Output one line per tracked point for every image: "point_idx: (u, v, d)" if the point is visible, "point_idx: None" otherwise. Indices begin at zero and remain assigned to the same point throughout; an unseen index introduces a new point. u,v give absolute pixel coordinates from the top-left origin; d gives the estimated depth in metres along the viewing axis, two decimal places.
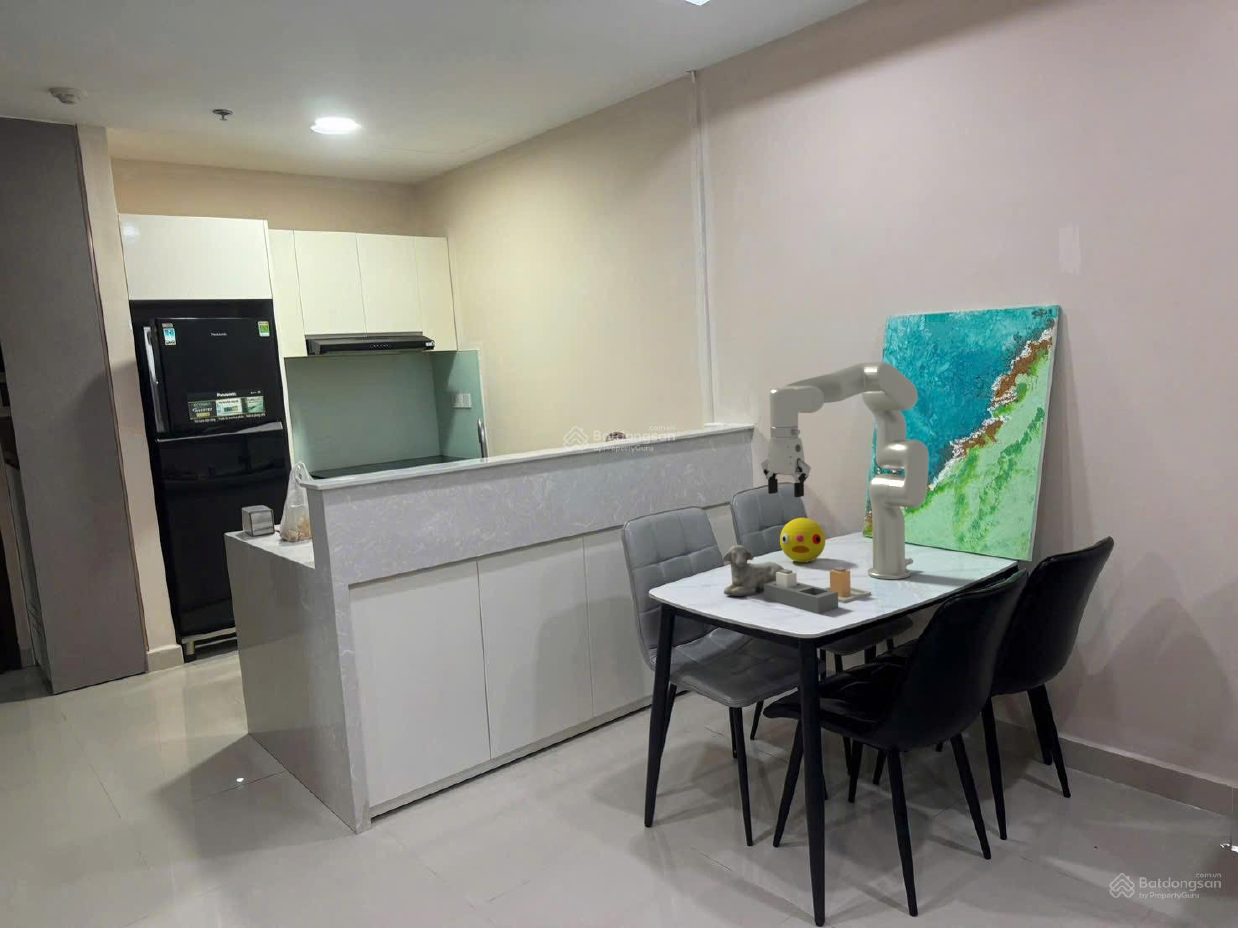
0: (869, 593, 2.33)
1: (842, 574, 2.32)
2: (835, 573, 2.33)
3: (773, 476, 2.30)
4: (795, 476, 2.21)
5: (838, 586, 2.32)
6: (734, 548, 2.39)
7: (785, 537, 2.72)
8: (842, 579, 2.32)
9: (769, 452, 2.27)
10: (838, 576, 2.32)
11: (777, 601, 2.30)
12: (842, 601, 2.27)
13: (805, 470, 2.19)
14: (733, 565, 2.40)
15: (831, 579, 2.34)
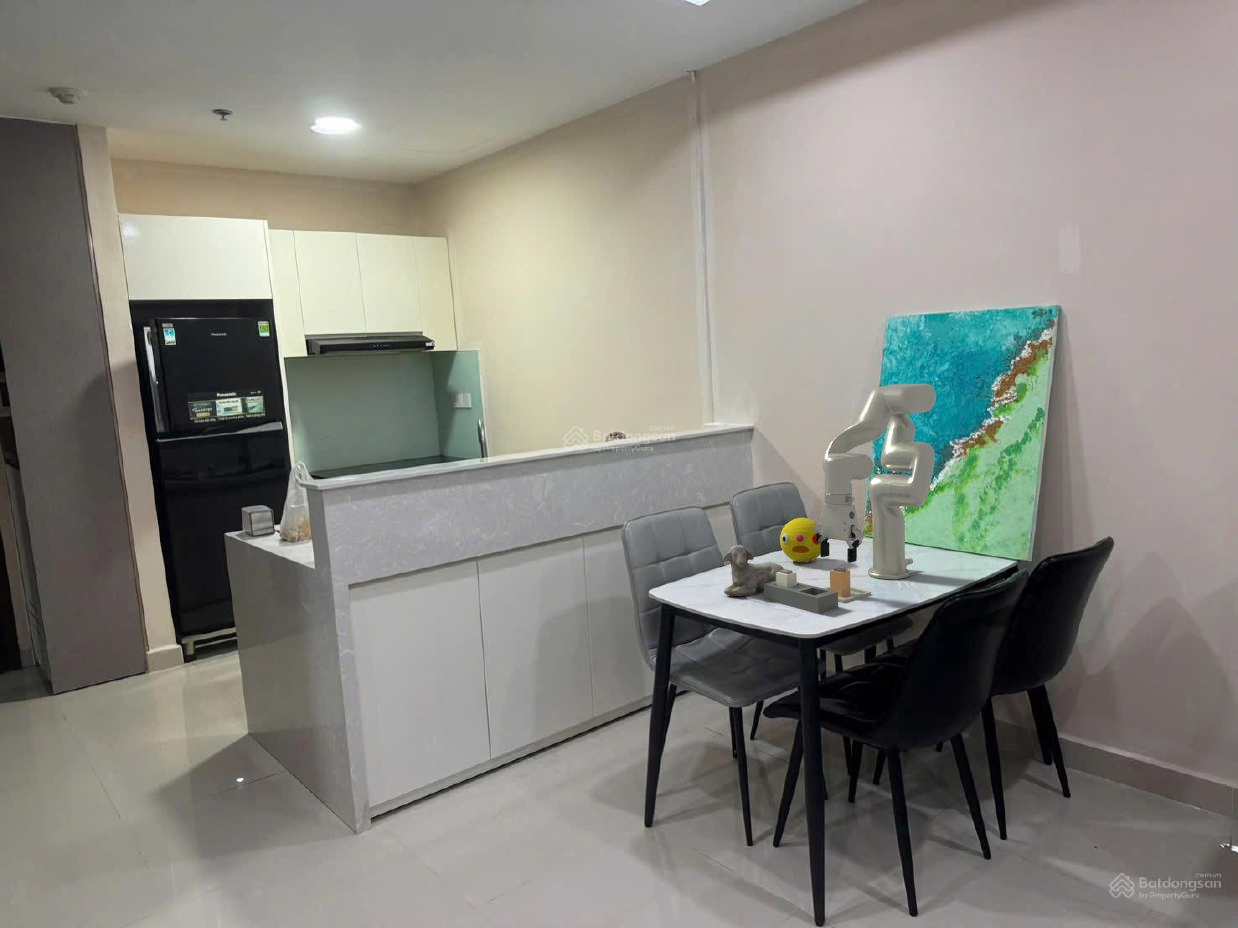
0: (869, 593, 2.33)
1: (842, 574, 2.32)
2: (835, 573, 2.33)
3: (825, 540, 2.37)
4: (849, 542, 2.28)
5: (838, 586, 2.32)
6: (734, 548, 2.39)
7: (785, 537, 2.72)
8: (842, 579, 2.32)
9: (822, 517, 2.34)
10: (838, 576, 2.32)
11: (777, 601, 2.30)
12: (842, 601, 2.27)
13: (859, 537, 2.26)
14: (733, 565, 2.40)
15: (831, 579, 2.34)
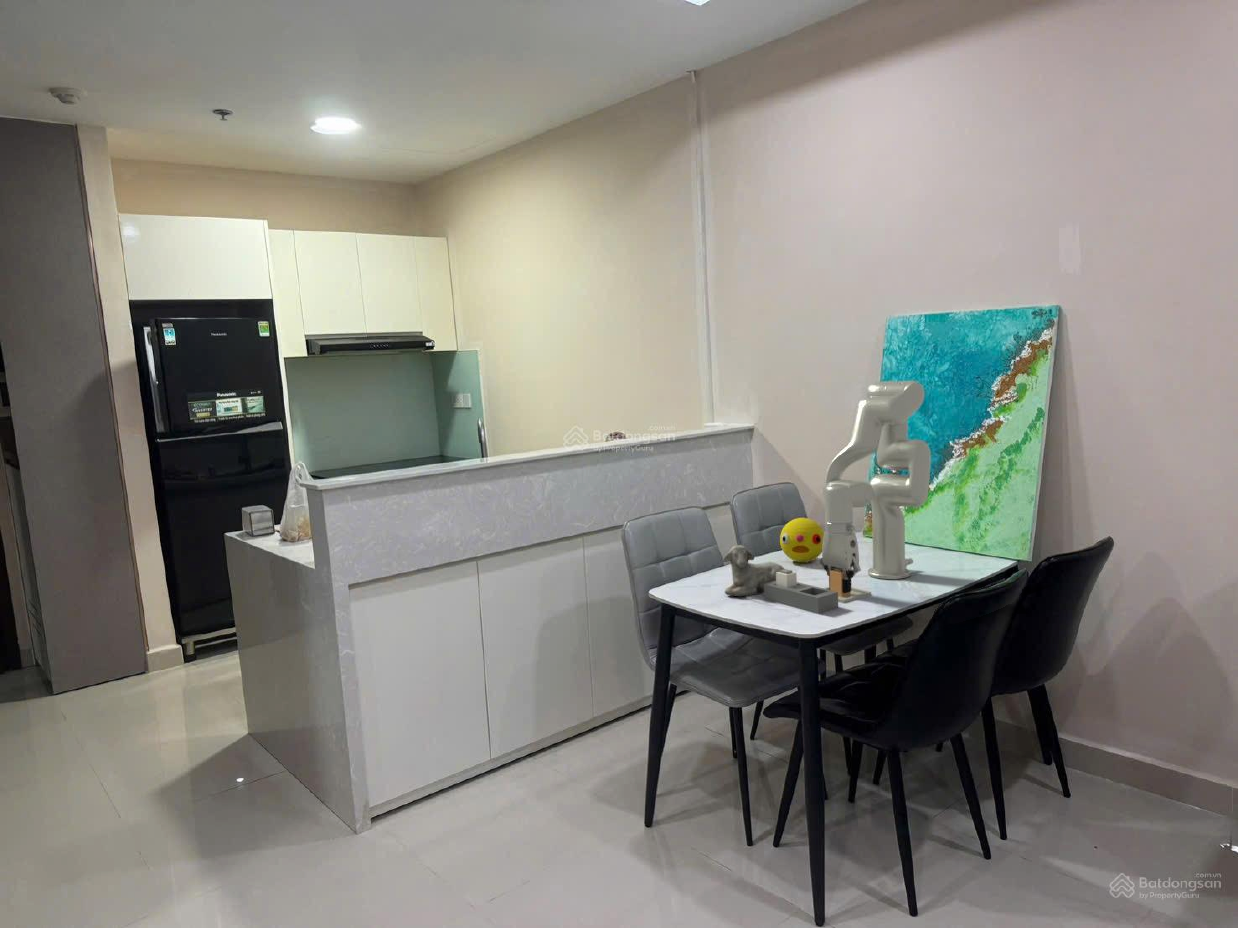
0: (869, 593, 2.33)
1: (842, 574, 2.32)
2: (835, 573, 2.33)
3: None
4: (845, 573, 2.31)
5: (838, 586, 2.32)
6: (735, 548, 2.39)
7: (785, 537, 2.72)
8: None
9: (824, 545, 2.35)
10: (838, 576, 2.32)
11: (777, 601, 2.30)
12: (842, 601, 2.27)
13: (855, 571, 2.29)
14: (734, 565, 2.40)
15: (831, 579, 2.34)
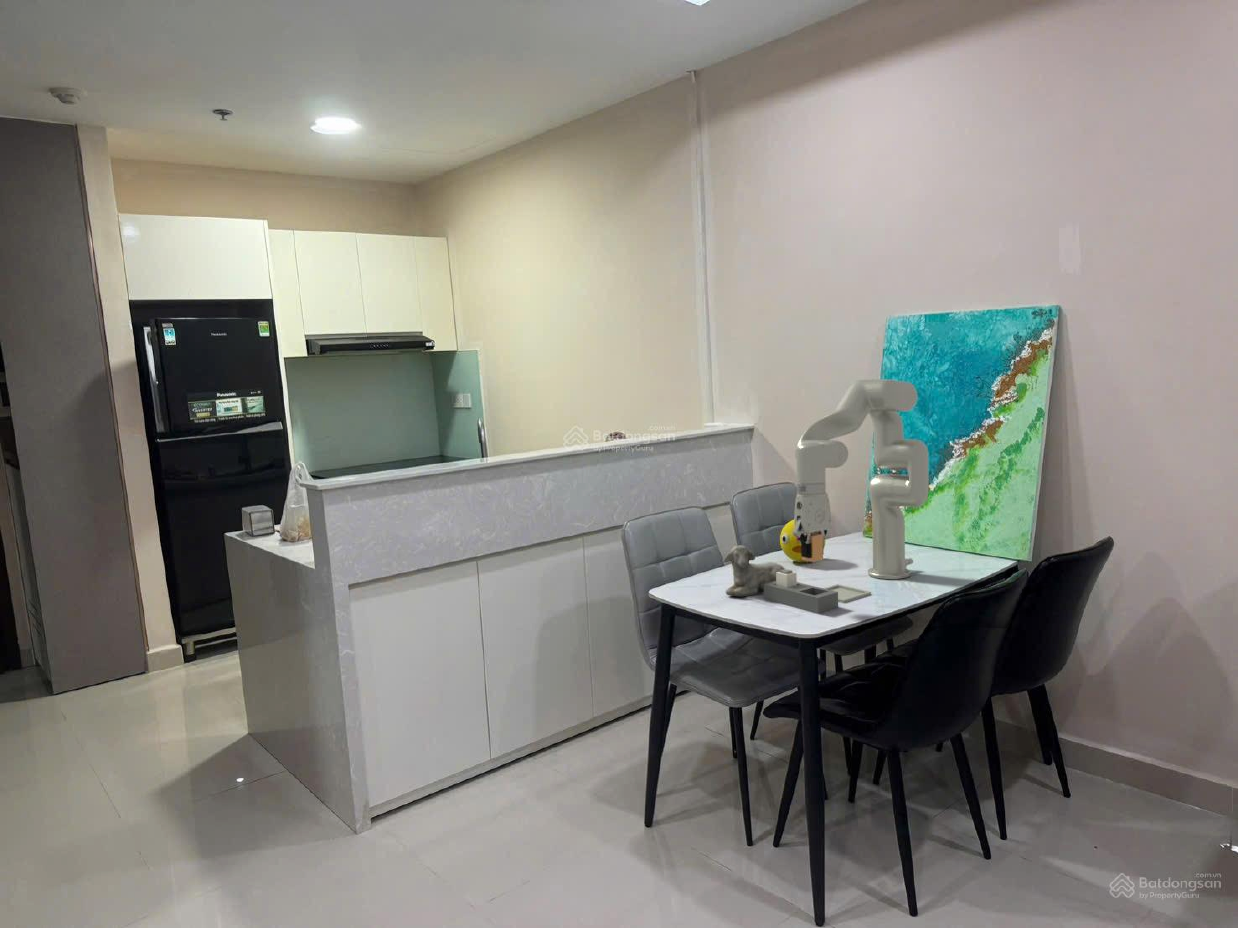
0: (869, 593, 2.33)
1: None
2: None
3: None
4: None
5: None
6: (736, 548, 2.38)
7: (785, 537, 2.72)
8: None
9: None
10: None
11: (777, 601, 2.30)
12: (842, 601, 2.27)
13: None
14: (735, 565, 2.39)
15: None
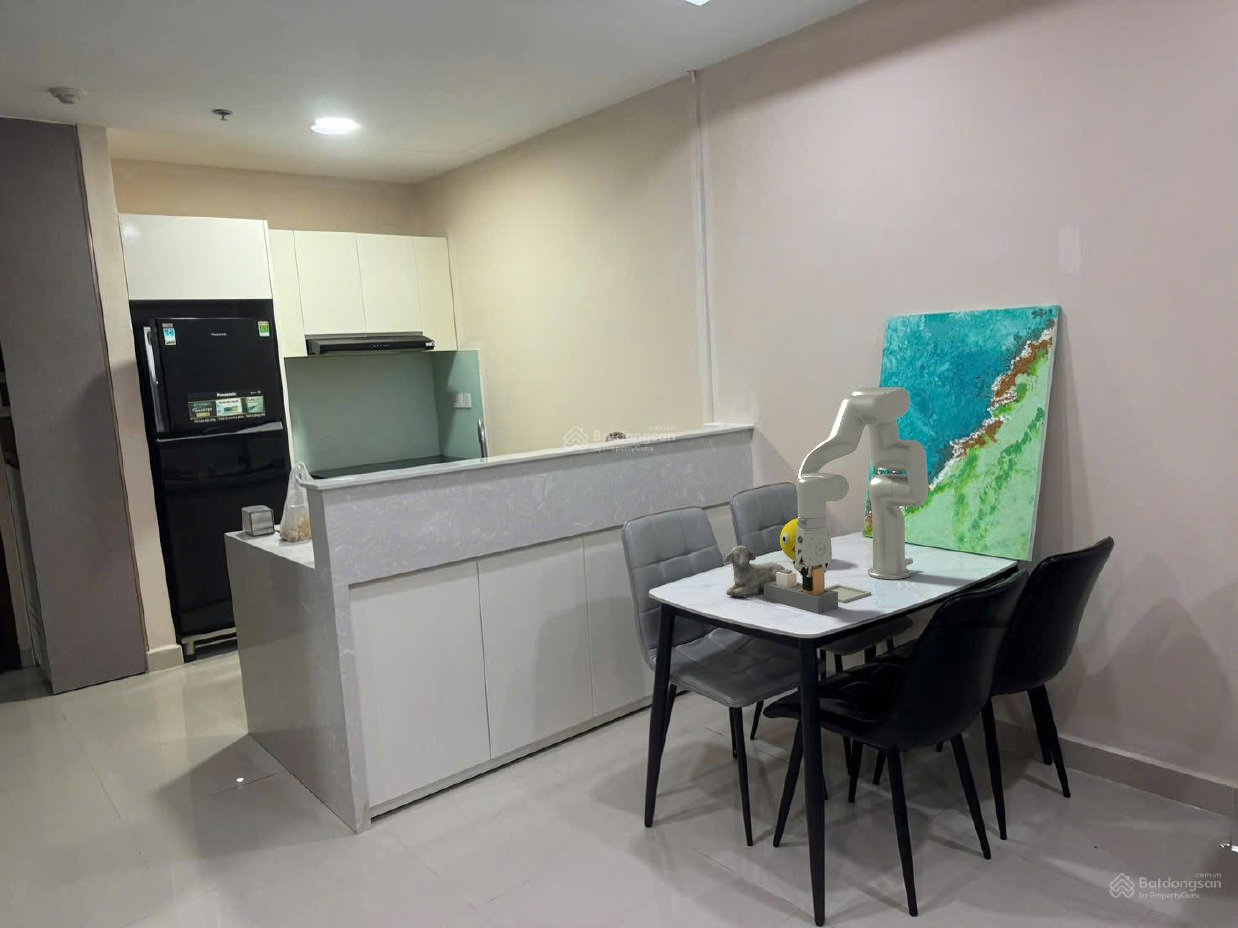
0: (869, 593, 2.33)
1: None
2: None
3: None
4: None
5: None
6: (737, 549, 2.38)
7: (785, 537, 2.72)
8: None
9: None
10: None
11: (777, 601, 2.30)
12: (842, 601, 2.27)
13: None
14: (736, 566, 2.39)
15: None
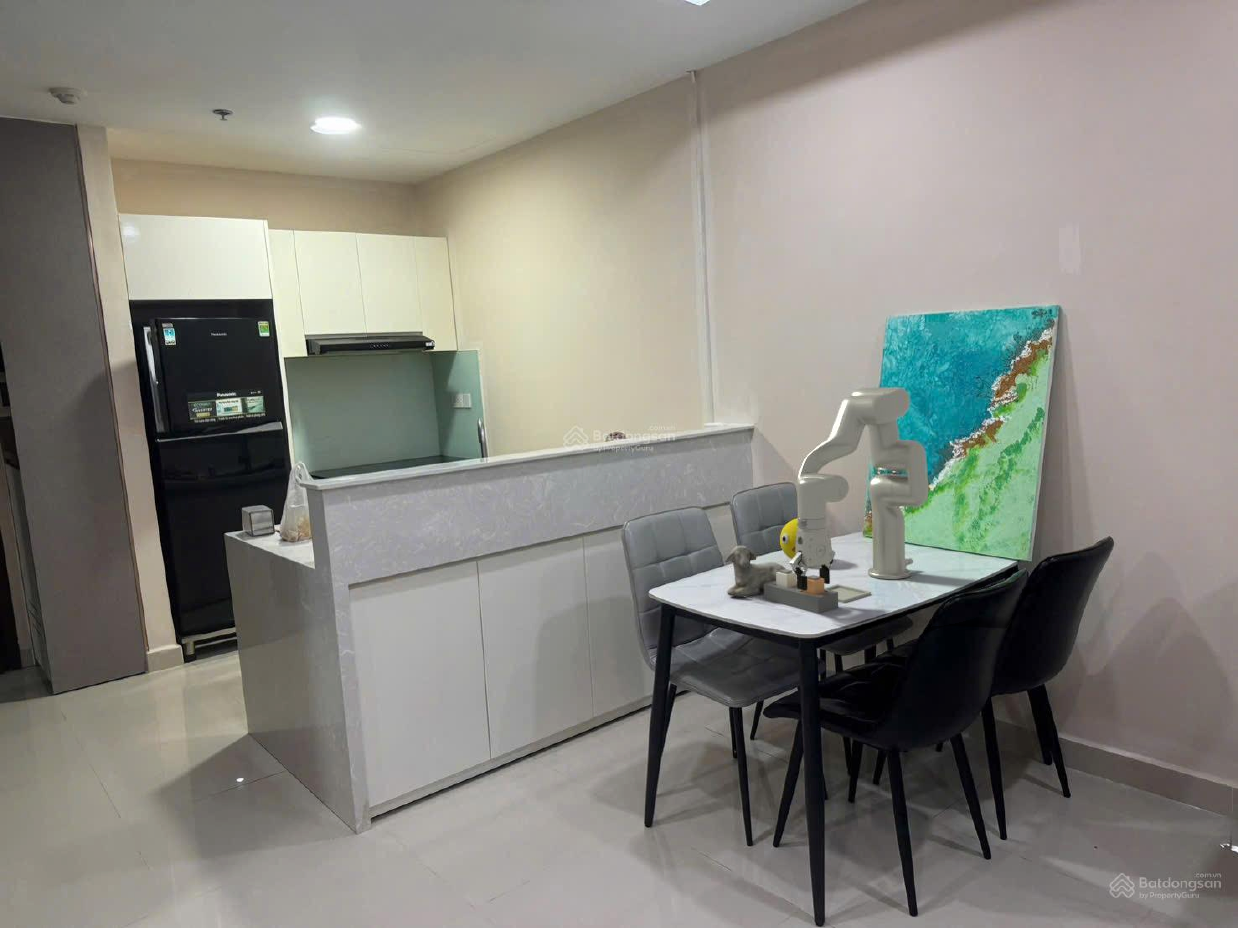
0: (869, 593, 2.33)
1: None
2: None
3: (825, 566, 2.25)
4: None
5: None
6: (738, 549, 2.38)
7: (785, 537, 2.72)
8: None
9: None
10: None
11: (777, 601, 2.30)
12: (842, 601, 2.27)
13: None
14: (736, 566, 2.39)
15: None
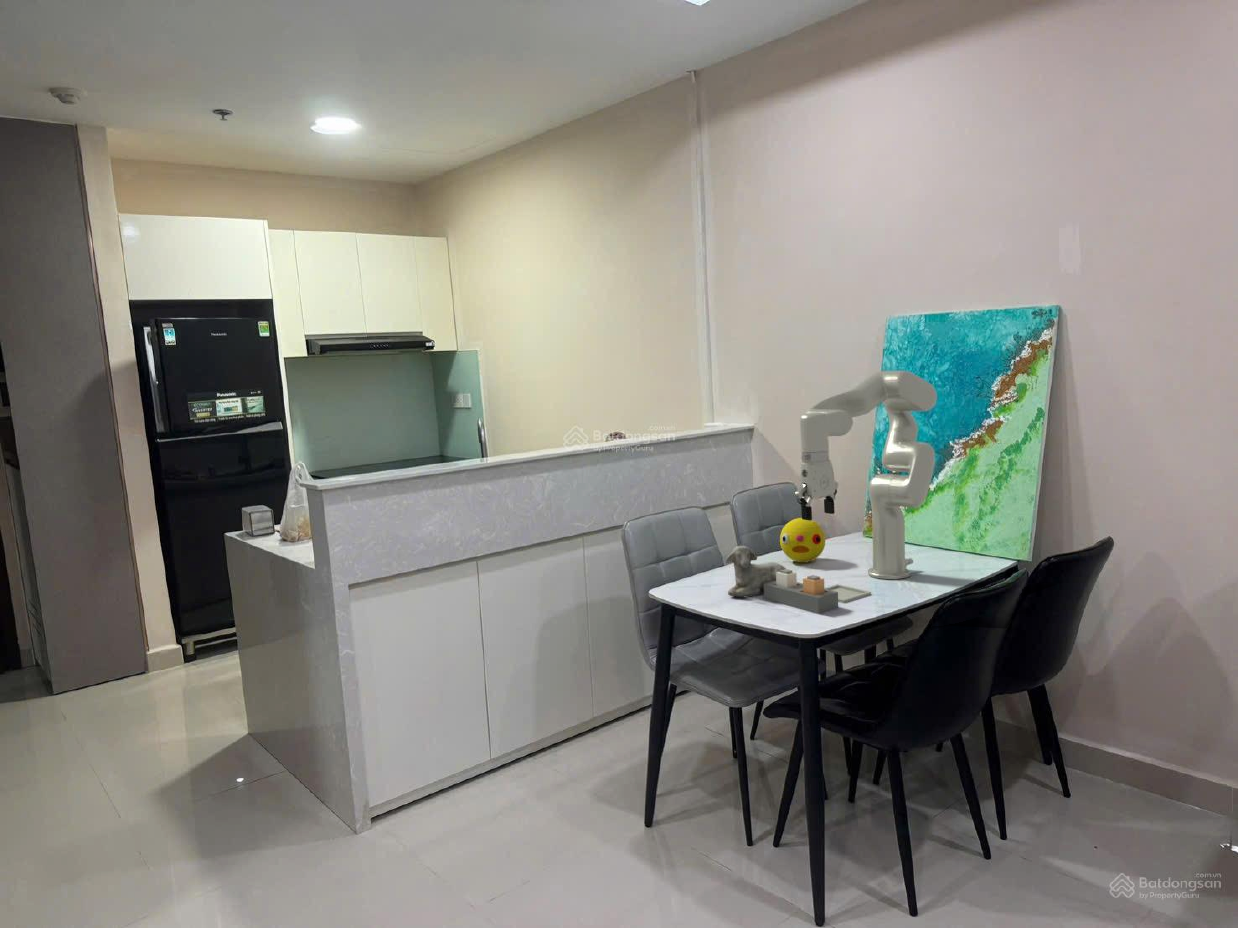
0: (869, 593, 2.33)
1: (804, 581, 2.23)
2: None
3: (829, 497, 2.34)
4: None
5: None
6: (738, 549, 2.38)
7: (785, 537, 2.72)
8: (804, 586, 2.24)
9: None
10: None
11: (777, 601, 2.30)
12: (842, 601, 2.27)
13: None
14: (737, 566, 2.39)
15: None
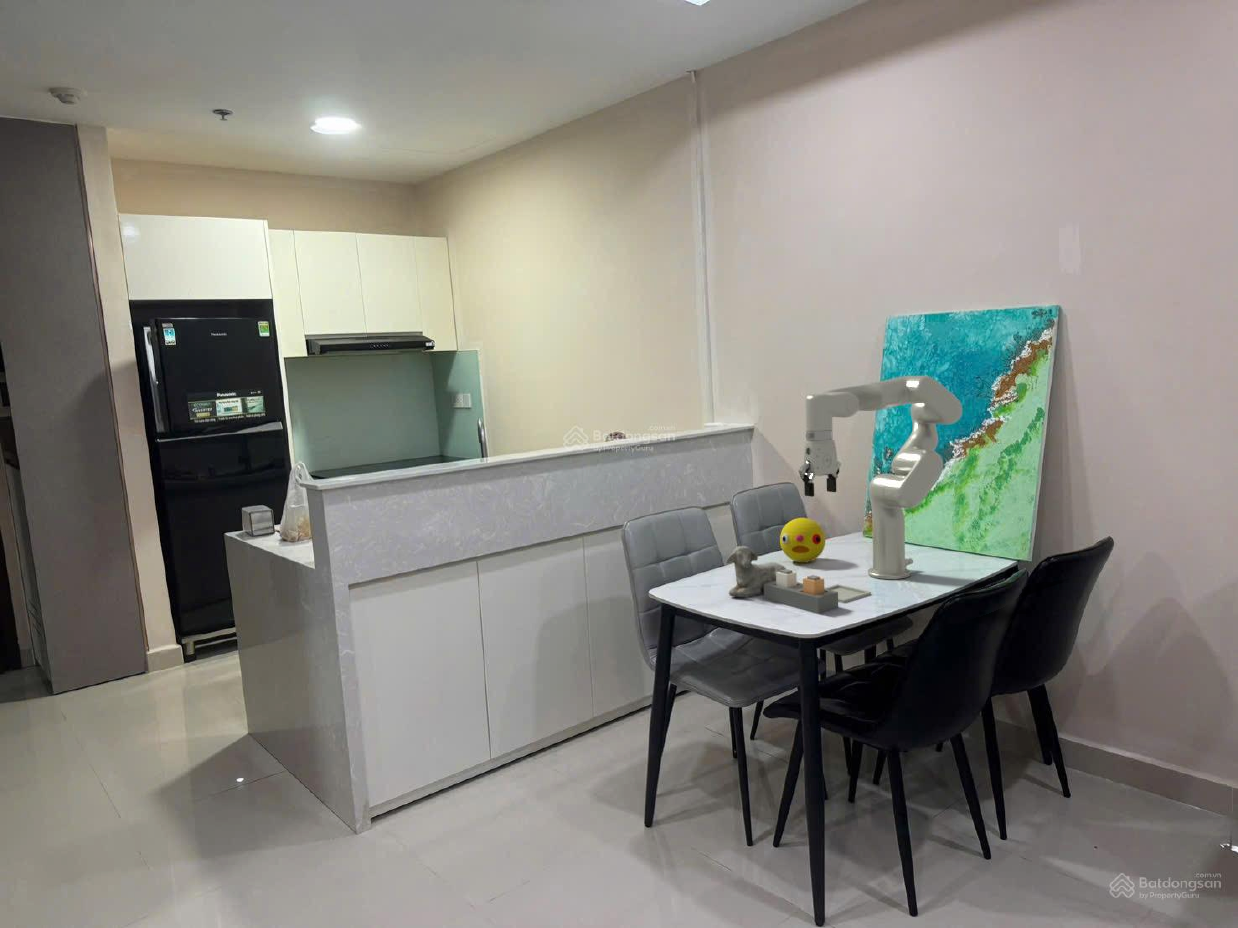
0: (869, 593, 2.33)
1: (804, 581, 2.23)
2: None
3: (832, 476, 2.44)
4: None
5: None
6: (739, 549, 2.37)
7: (785, 537, 2.72)
8: (804, 586, 2.24)
9: None
10: None
11: (777, 601, 2.30)
12: (842, 601, 2.27)
13: None
14: (738, 566, 2.39)
15: None
